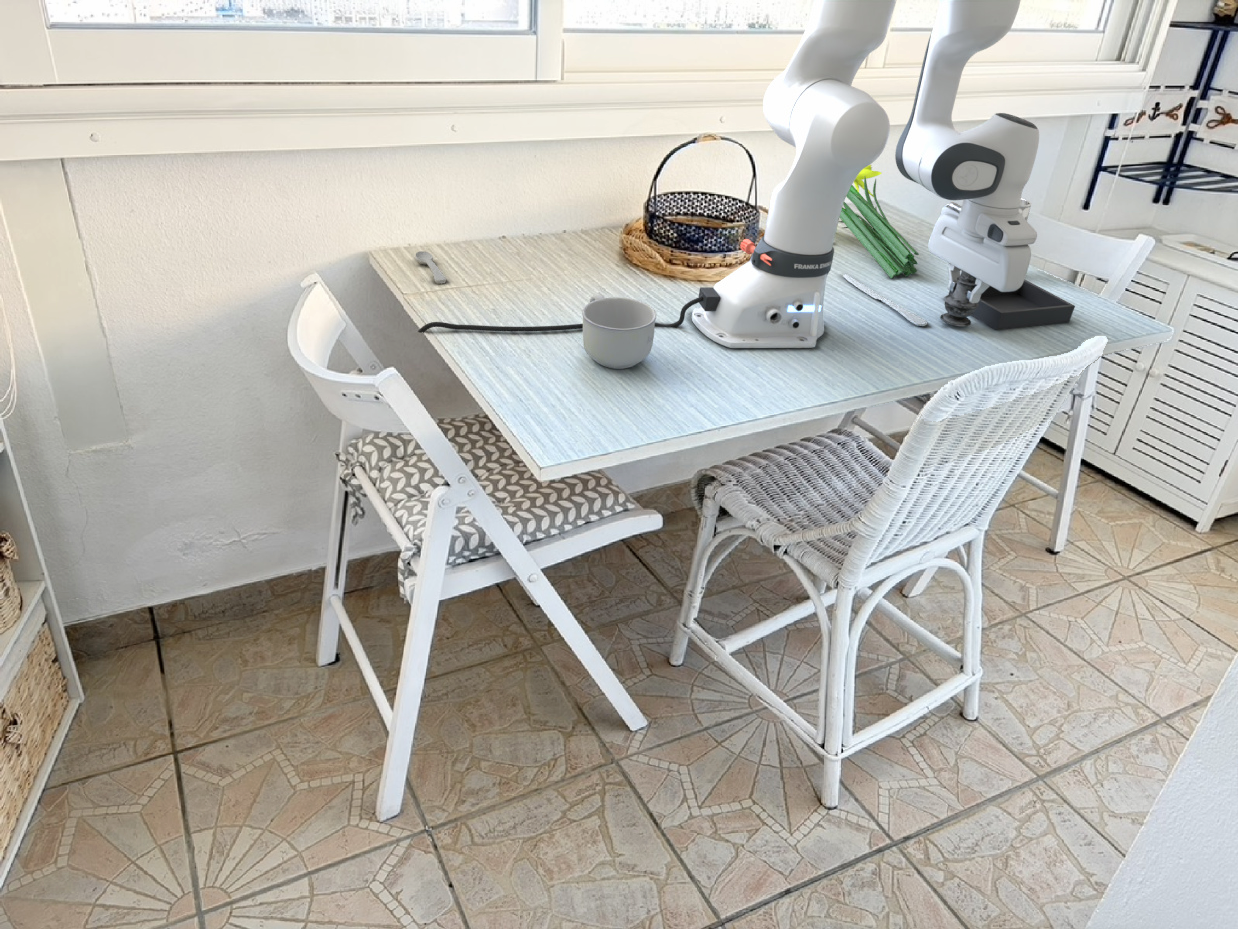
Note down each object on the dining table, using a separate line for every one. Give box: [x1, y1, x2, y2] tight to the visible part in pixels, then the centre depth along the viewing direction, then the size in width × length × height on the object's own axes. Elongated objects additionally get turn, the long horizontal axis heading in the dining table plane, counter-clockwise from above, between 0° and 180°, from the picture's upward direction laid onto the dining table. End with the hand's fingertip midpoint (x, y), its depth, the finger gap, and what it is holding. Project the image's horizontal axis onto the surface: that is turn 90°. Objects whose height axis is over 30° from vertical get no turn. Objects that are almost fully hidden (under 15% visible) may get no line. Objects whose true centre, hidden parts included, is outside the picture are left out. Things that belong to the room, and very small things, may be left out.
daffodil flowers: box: [838, 164, 920, 280], centre depth 189 cm, size 17×15×35 cm
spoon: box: [414, 250, 447, 285], centre depth 161 cm, size 3×12×2 cm, turn 27°
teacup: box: [581, 293, 657, 370], centre depth 137 cm, size 14×11×8 cm
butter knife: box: [842, 273, 929, 327], centre depth 169 cm, size 1×24×3 cm
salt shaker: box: [939, 270, 979, 327], centre depth 159 cm, size 6×6×12 cm
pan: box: [947, 278, 1076, 331], centre depth 169 cm, size 17×13×3 cm
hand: (962, 296), depth 160 cm, fingers closed on salt shaker, 3 cm apart
